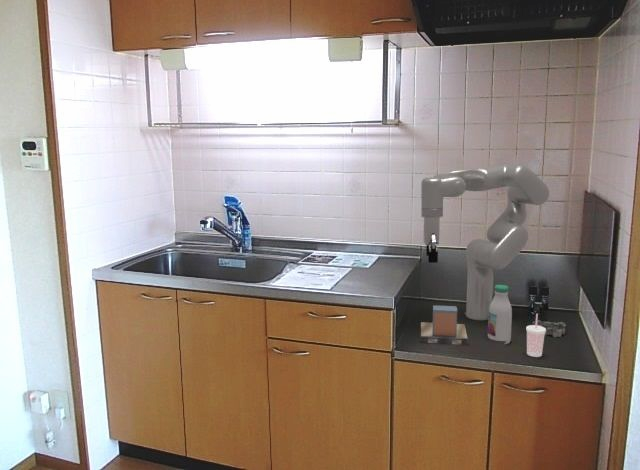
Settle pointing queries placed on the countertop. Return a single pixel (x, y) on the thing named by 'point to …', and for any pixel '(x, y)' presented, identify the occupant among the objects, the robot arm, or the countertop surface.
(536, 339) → the beverage cup
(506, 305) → the milk bottle
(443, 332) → the carton
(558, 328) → the egg carton
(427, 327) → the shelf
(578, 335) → the countertop surface
